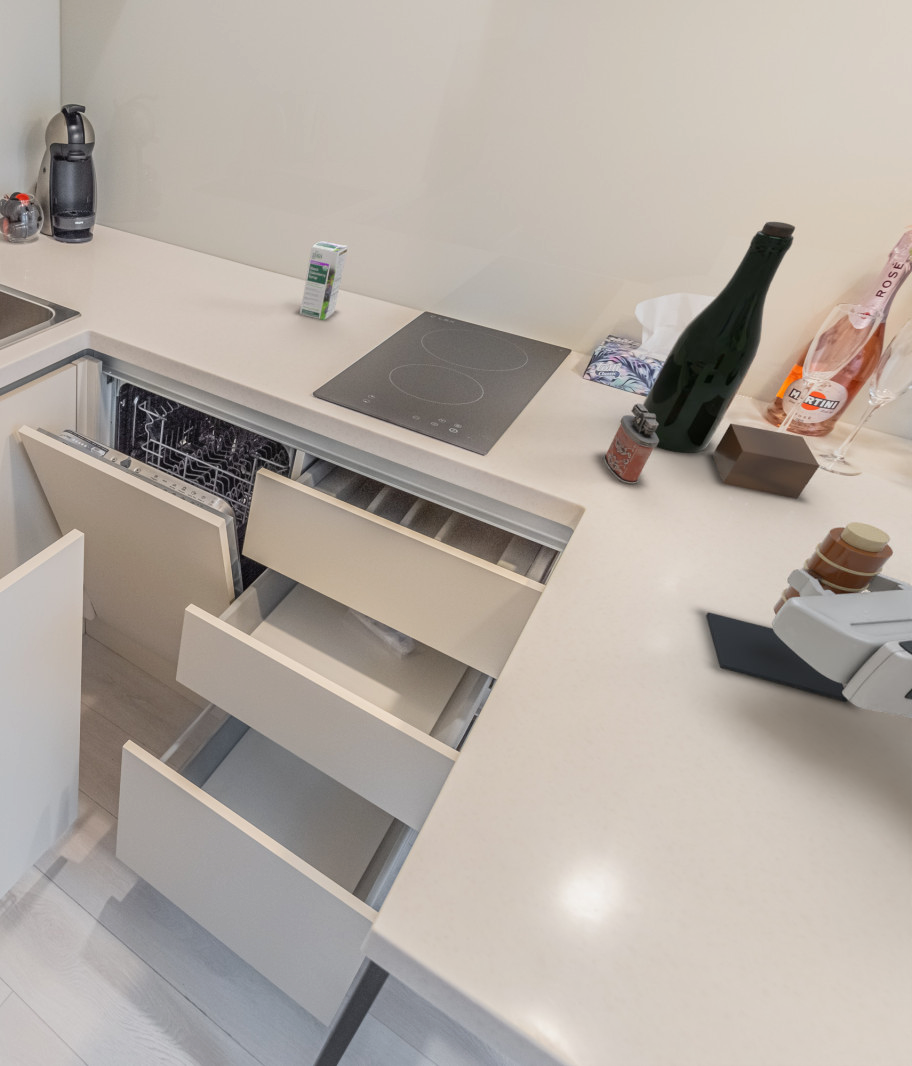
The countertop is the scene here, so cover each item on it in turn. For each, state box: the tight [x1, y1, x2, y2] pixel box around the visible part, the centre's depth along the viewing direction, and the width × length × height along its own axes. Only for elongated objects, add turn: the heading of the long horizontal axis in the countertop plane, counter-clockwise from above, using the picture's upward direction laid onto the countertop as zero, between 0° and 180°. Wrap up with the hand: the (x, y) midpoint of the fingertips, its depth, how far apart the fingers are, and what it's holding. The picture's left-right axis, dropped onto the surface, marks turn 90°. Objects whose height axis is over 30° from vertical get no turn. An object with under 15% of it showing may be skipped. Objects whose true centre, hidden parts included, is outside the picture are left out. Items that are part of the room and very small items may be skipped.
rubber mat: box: [706, 611, 849, 703], centre depth 82 cm, size 11×9×1 cm
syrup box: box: [299, 240, 349, 321], centre depth 157 cm, size 6×6×14 cm
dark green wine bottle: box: [641, 221, 796, 454], centre depth 111 cm, size 10×10×33 cm
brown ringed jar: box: [773, 521, 894, 615], centre depth 75 cm, size 5×5×11 cm
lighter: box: [602, 403, 659, 486], centre depth 109 cm, size 8×3×10 cm, turn 171°
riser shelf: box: [712, 423, 820, 500], centre depth 110 cm, size 9×9×6 cm
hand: (824, 572), depth 76 cm, fingers closed on brown ringed jar, 5 cm apart
